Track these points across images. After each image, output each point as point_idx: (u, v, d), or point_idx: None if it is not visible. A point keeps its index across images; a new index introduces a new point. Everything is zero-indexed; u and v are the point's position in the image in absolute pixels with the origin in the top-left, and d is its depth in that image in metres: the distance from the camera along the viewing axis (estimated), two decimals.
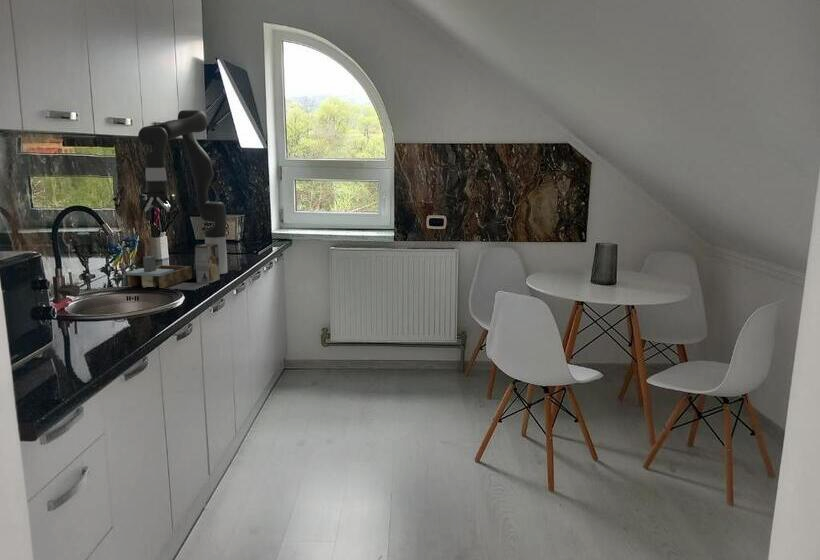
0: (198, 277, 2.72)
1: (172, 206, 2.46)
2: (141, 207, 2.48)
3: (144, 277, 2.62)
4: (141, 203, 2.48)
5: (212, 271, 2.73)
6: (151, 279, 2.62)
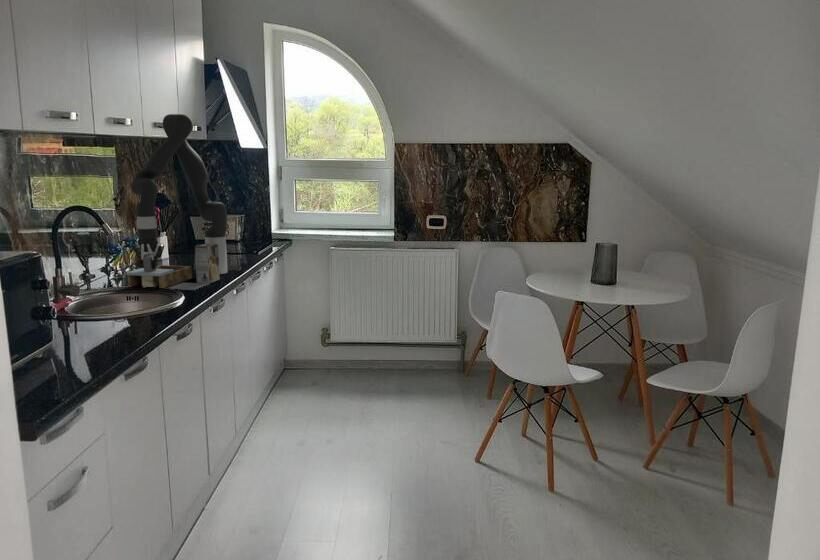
0: (198, 277, 2.72)
1: (157, 255, 2.61)
2: (138, 255, 2.62)
3: (144, 277, 2.62)
4: (136, 252, 2.62)
5: (212, 271, 2.73)
6: (151, 279, 2.62)
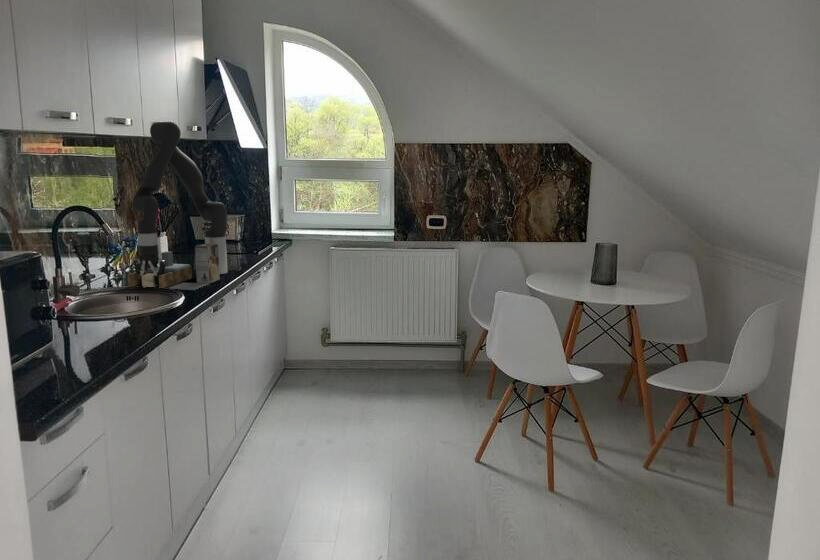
0: (198, 277, 2.72)
1: (160, 271, 2.62)
2: (137, 271, 2.64)
3: (144, 277, 2.62)
4: (136, 268, 2.63)
5: (212, 271, 2.73)
6: (151, 279, 2.62)
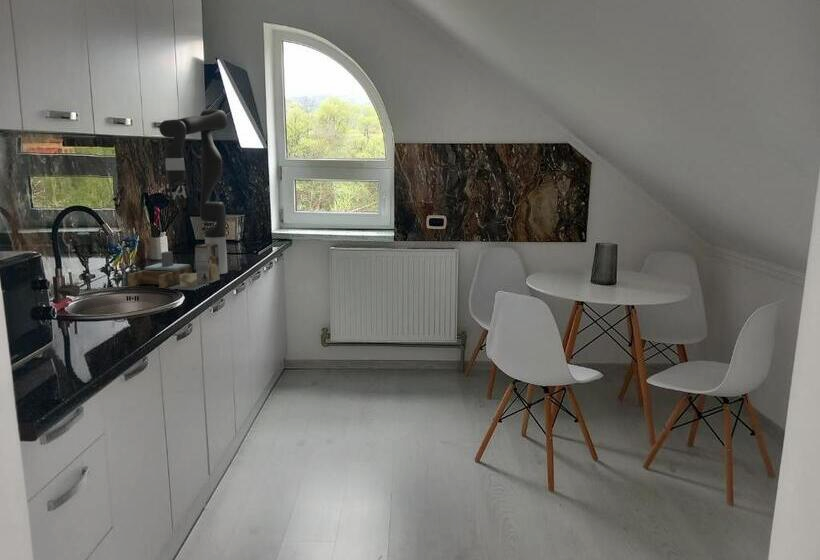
0: (198, 277, 2.72)
1: None
2: None
3: None
4: None
5: (212, 271, 2.73)
6: None
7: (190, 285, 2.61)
